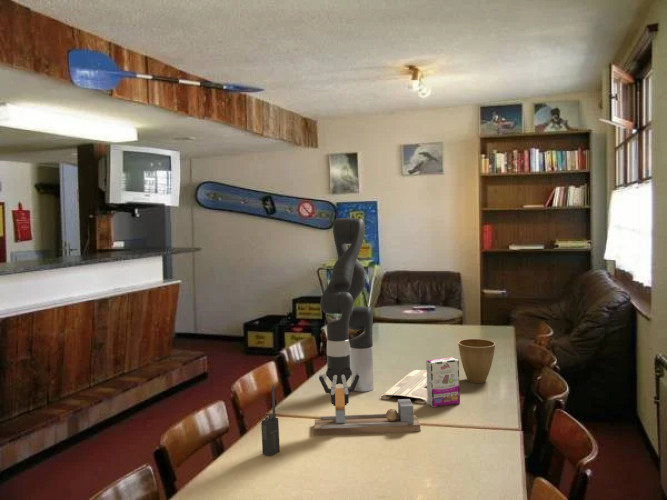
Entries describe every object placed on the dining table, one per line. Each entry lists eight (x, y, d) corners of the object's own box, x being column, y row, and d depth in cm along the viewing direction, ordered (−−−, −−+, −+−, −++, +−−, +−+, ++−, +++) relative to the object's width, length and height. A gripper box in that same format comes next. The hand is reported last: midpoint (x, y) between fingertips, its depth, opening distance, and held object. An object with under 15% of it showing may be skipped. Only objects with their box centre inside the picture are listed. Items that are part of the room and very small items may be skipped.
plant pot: (454, 383, 235) (453, 344, 234) (464, 374, 248) (463, 337, 247) (491, 387, 228) (490, 347, 227) (499, 377, 241) (498, 340, 241)
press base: (314, 425, 193) (314, 401, 193) (415, 421, 194) (415, 397, 194) (314, 435, 184) (313, 410, 184) (420, 431, 185) (419, 406, 185)
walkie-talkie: (272, 449, 174) (270, 384, 173) (280, 451, 172) (278, 385, 171) (261, 454, 171) (258, 388, 170) (269, 457, 169) (266, 390, 167)
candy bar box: (454, 400, 215) (453, 356, 214) (460, 404, 210) (459, 359, 209) (426, 403, 212) (425, 359, 211) (432, 407, 207) (431, 362, 206)
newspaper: (426, 405, 211) (425, 398, 211) (376, 399, 220) (376, 392, 219) (451, 378, 244) (451, 372, 244) (407, 374, 253) (407, 368, 252)
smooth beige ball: (385, 419, 191) (385, 407, 191) (397, 418, 191) (397, 406, 191) (386, 423, 187) (386, 411, 187) (399, 422, 187) (398, 410, 187)
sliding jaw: (335, 418, 192) (334, 386, 191) (344, 418, 192) (343, 386, 192) (336, 426, 186) (335, 392, 185) (345, 425, 186) (344, 392, 185)
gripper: (359, 349, 191) (360, 400, 192) (316, 350, 191) (318, 402, 192) (360, 354, 184) (362, 408, 185) (316, 356, 184) (318, 409, 185)
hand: (339, 404), depth 189 cm, fingers closed on sliding jaw, 3 cm apart
